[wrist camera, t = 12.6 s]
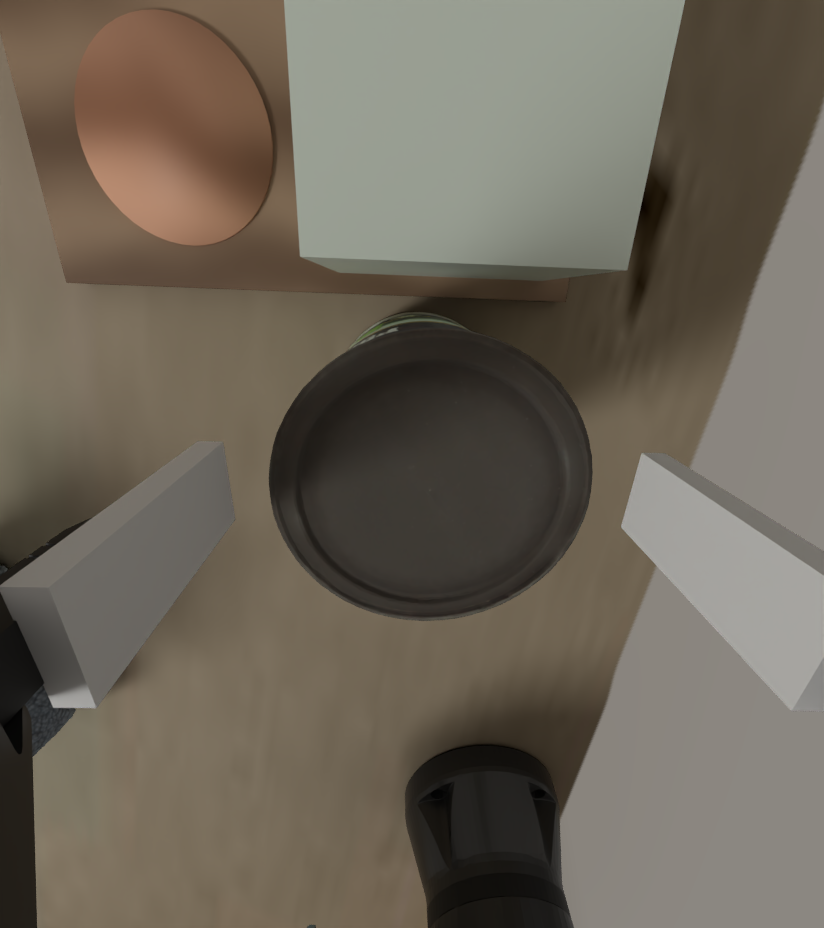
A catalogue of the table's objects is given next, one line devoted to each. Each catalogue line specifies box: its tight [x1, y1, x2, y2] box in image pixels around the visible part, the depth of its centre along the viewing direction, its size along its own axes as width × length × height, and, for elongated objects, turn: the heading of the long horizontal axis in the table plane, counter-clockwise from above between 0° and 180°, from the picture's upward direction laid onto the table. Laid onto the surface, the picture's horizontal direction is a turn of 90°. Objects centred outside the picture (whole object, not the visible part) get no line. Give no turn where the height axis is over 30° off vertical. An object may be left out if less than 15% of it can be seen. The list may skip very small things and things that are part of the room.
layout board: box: [0, 0, 570, 302], centre depth 20 cm, size 13×27×2 cm, turn 88°
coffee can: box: [269, 312, 593, 621], centre depth 19 cm, size 10×10×14 cm
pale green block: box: [284, 0, 685, 281], centre depth 16 cm, size 11×11×9 cm
